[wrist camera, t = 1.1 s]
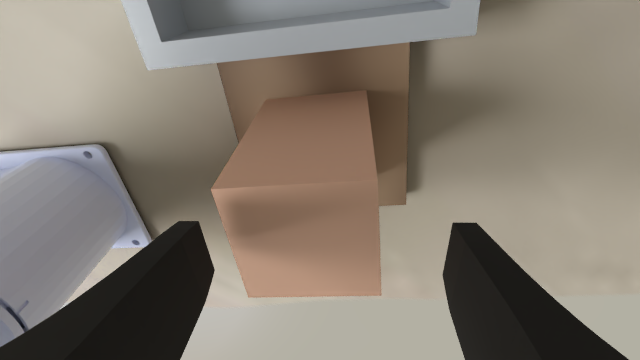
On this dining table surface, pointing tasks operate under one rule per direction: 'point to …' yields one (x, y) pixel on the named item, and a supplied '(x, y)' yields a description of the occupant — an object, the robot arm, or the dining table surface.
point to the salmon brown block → (304, 199)
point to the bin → (286, 27)
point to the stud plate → (335, 77)
